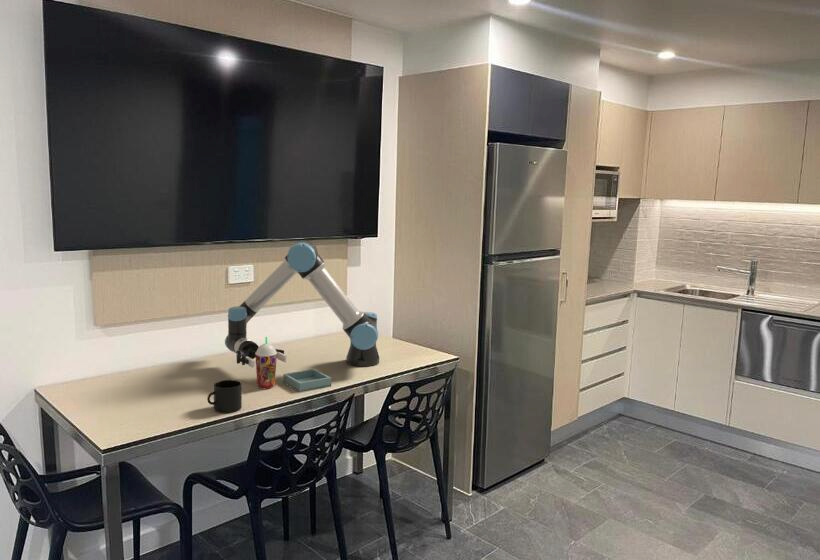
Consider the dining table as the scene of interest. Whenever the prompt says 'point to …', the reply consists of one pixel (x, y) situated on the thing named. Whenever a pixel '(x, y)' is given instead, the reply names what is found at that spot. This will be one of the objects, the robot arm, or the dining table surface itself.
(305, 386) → the bin
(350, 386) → the dining table surface
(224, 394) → the mug
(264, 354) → the smoothie
